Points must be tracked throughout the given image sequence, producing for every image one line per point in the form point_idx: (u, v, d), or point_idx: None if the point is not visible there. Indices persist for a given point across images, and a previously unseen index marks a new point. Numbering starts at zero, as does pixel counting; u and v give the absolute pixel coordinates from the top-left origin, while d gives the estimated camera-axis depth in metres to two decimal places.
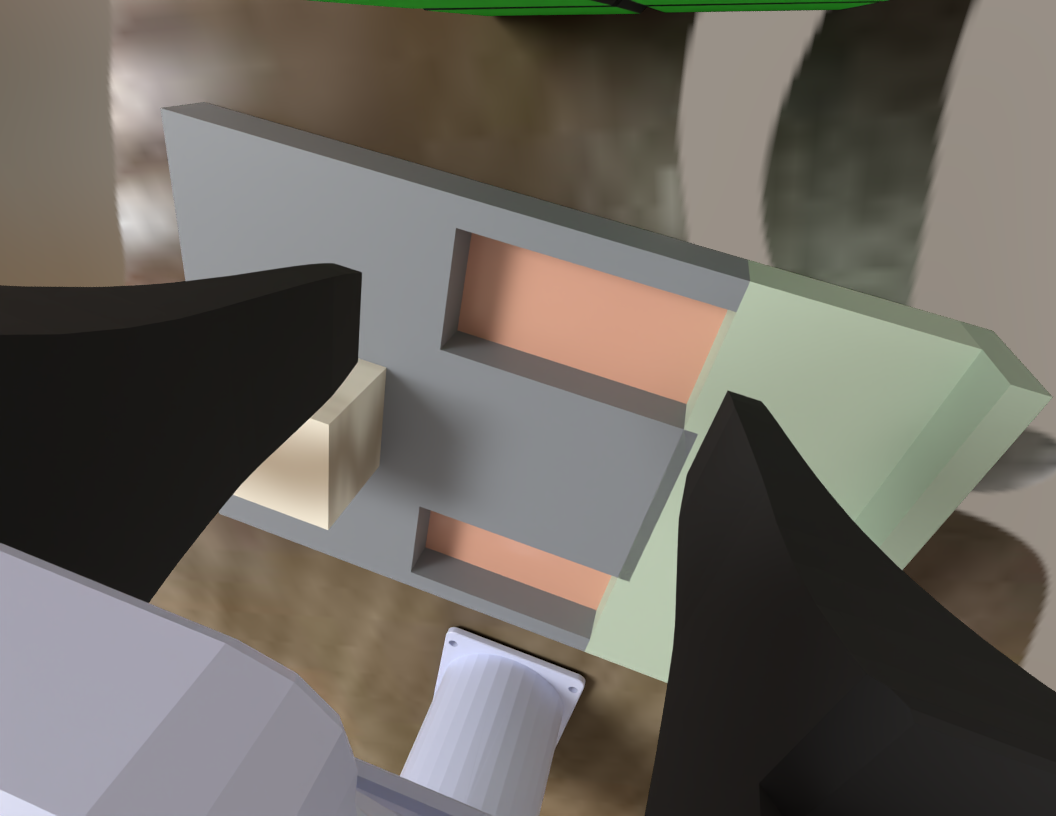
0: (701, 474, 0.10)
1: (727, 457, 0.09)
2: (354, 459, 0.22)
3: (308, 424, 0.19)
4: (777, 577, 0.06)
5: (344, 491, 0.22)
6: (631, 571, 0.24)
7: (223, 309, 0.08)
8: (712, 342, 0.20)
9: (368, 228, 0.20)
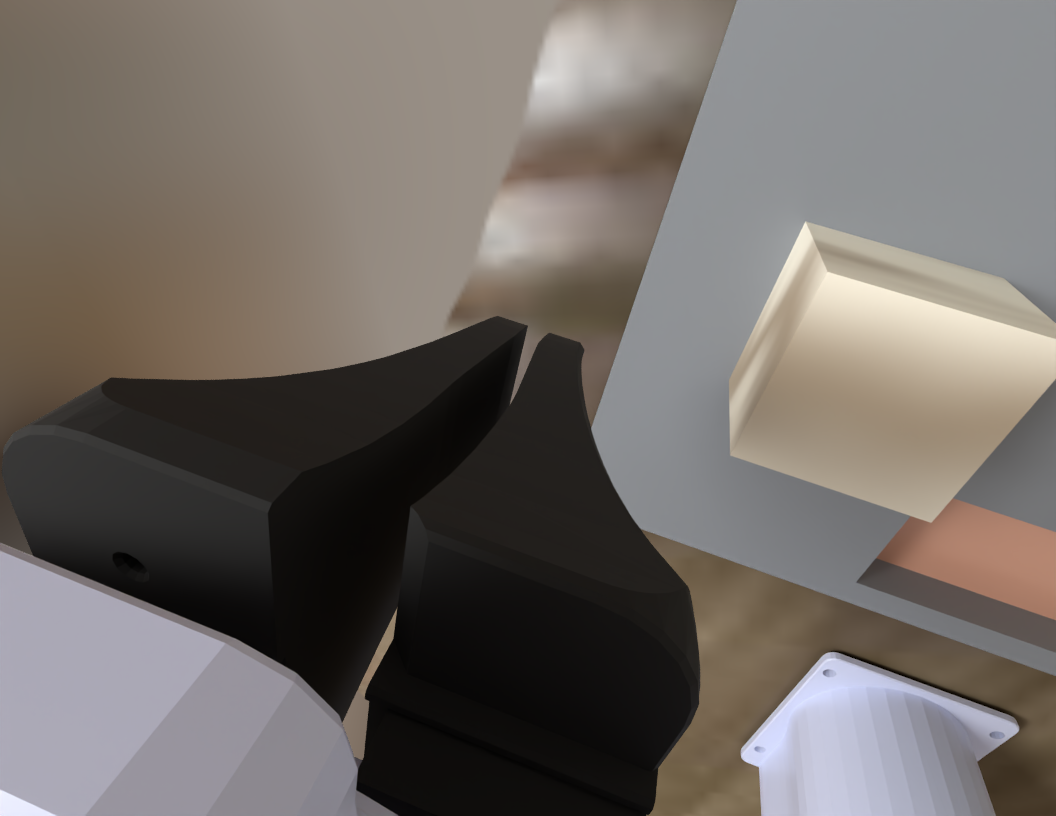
0: None
1: None
2: None
3: (1034, 348, 0.12)
4: None
5: None
6: None
7: None
8: None
9: None
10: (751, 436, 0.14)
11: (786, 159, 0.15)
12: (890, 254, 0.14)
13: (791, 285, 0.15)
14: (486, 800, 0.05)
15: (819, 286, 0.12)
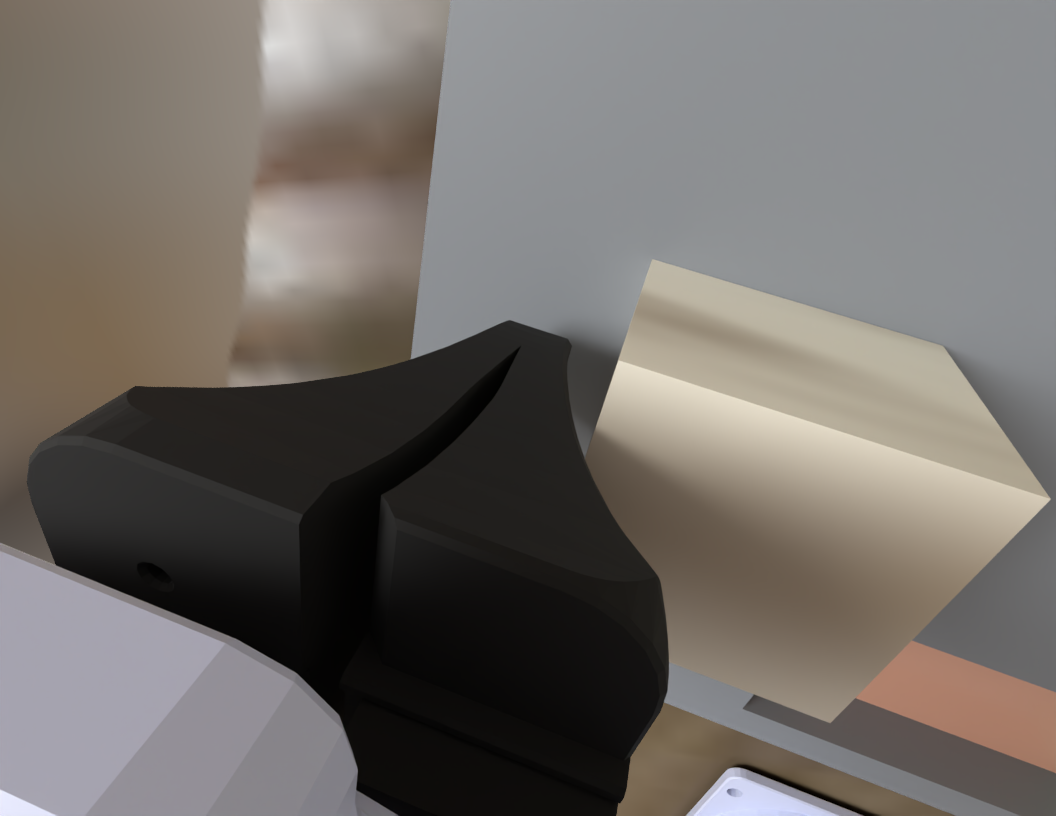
0: None
1: None
2: None
3: (967, 497, 0.07)
4: None
5: None
6: None
7: (465, 391, 0.08)
8: None
9: None
10: None
11: (571, 156, 0.10)
12: (766, 312, 0.09)
13: None
14: (458, 788, 0.05)
15: (611, 380, 0.07)
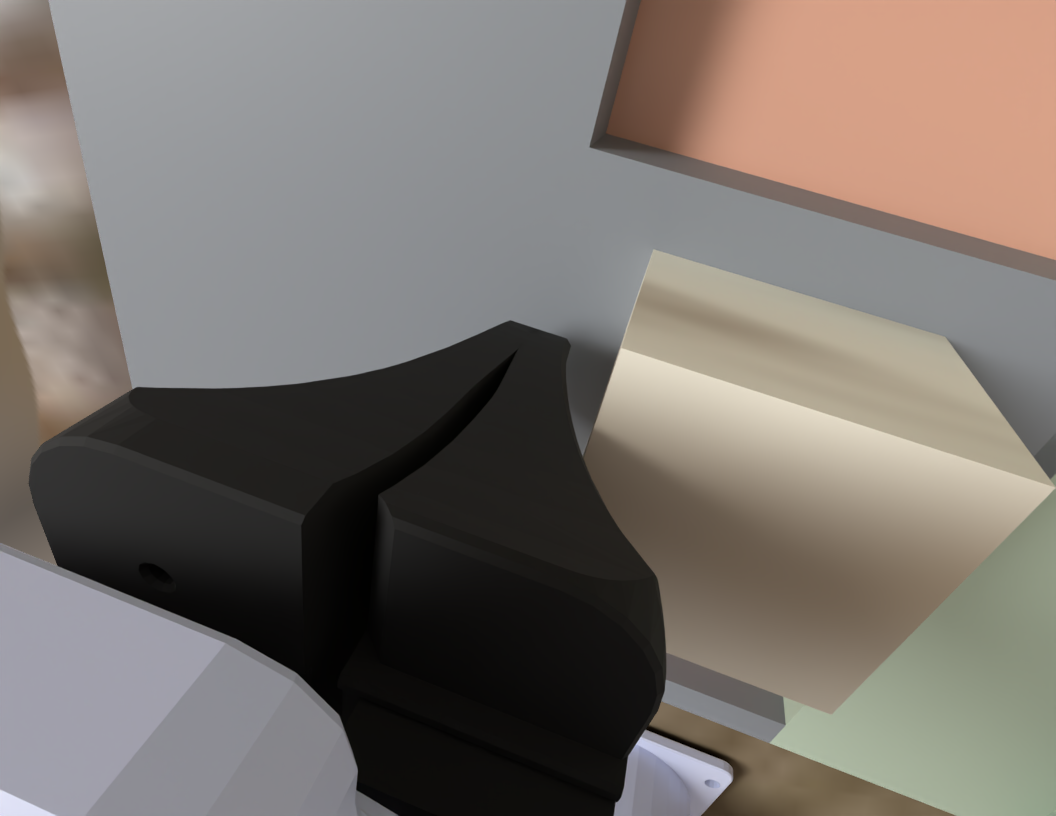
0: None
1: None
2: None
3: (971, 485, 0.07)
4: None
5: None
6: None
7: (466, 392, 0.08)
8: None
9: None
10: None
11: (162, 40, 0.11)
12: (768, 302, 0.09)
13: None
14: (455, 787, 0.05)
15: (613, 368, 0.07)
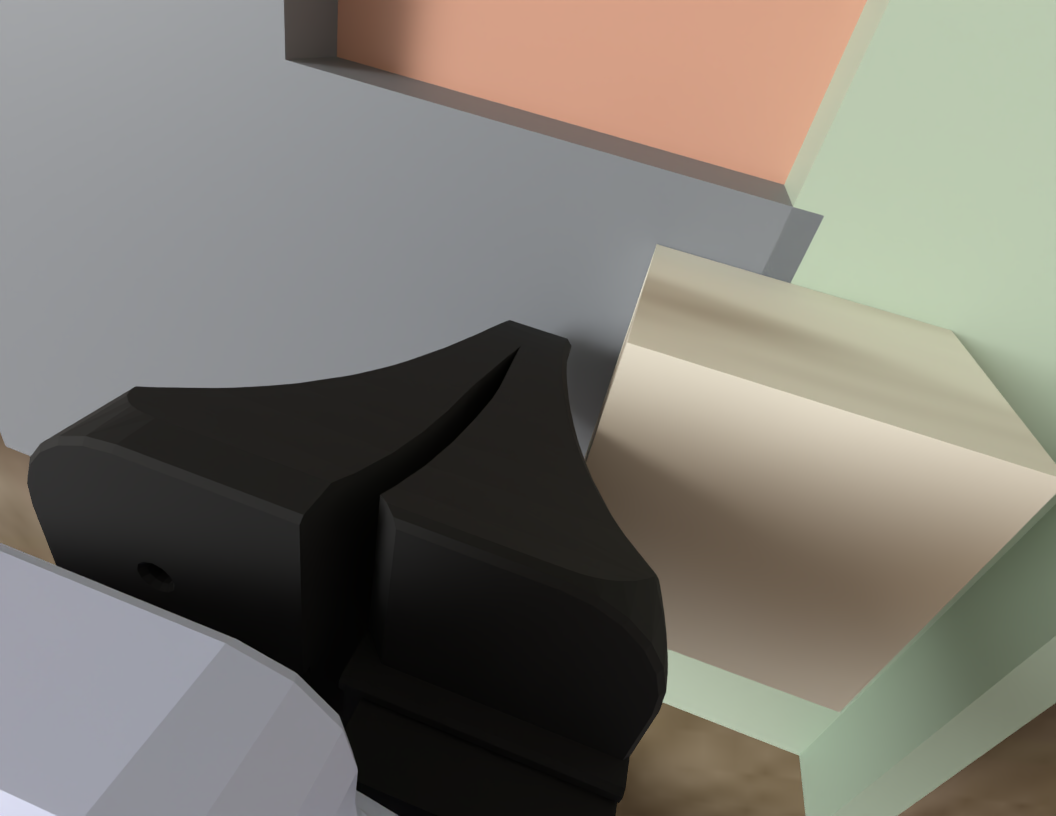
0: None
1: None
2: None
3: (983, 478, 0.07)
4: None
5: None
6: None
7: (465, 391, 0.08)
8: (857, 16, 0.09)
9: None
10: None
11: None
12: (773, 297, 0.09)
13: (624, 344, 0.10)
14: (457, 788, 0.05)
15: (619, 364, 0.07)
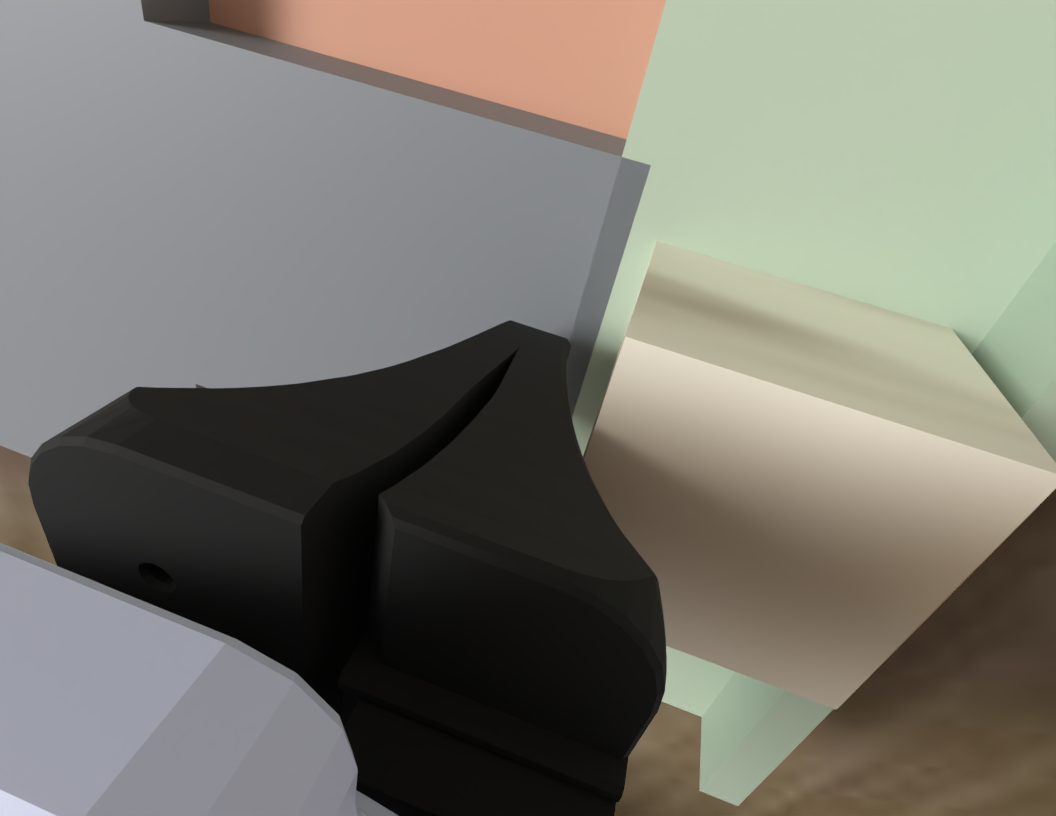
0: None
1: None
2: None
3: (981, 475, 0.07)
4: None
5: None
6: None
7: (466, 391, 0.08)
8: None
9: None
10: None
11: None
12: (773, 293, 0.09)
13: (623, 340, 0.10)
14: (455, 787, 0.05)
15: (617, 359, 0.07)
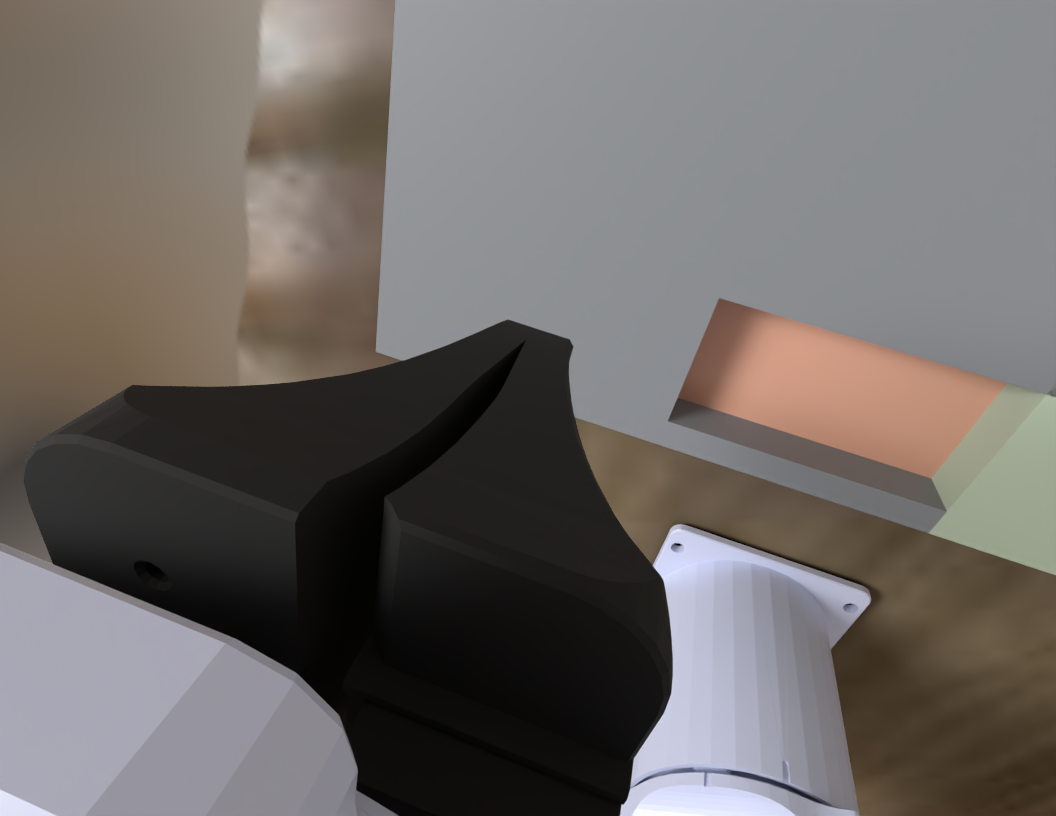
0: None
1: None
2: None
3: None
4: None
5: None
6: None
7: (463, 391, 0.08)
8: None
9: None
10: None
11: None
12: None
13: None
14: (460, 789, 0.05)
15: None
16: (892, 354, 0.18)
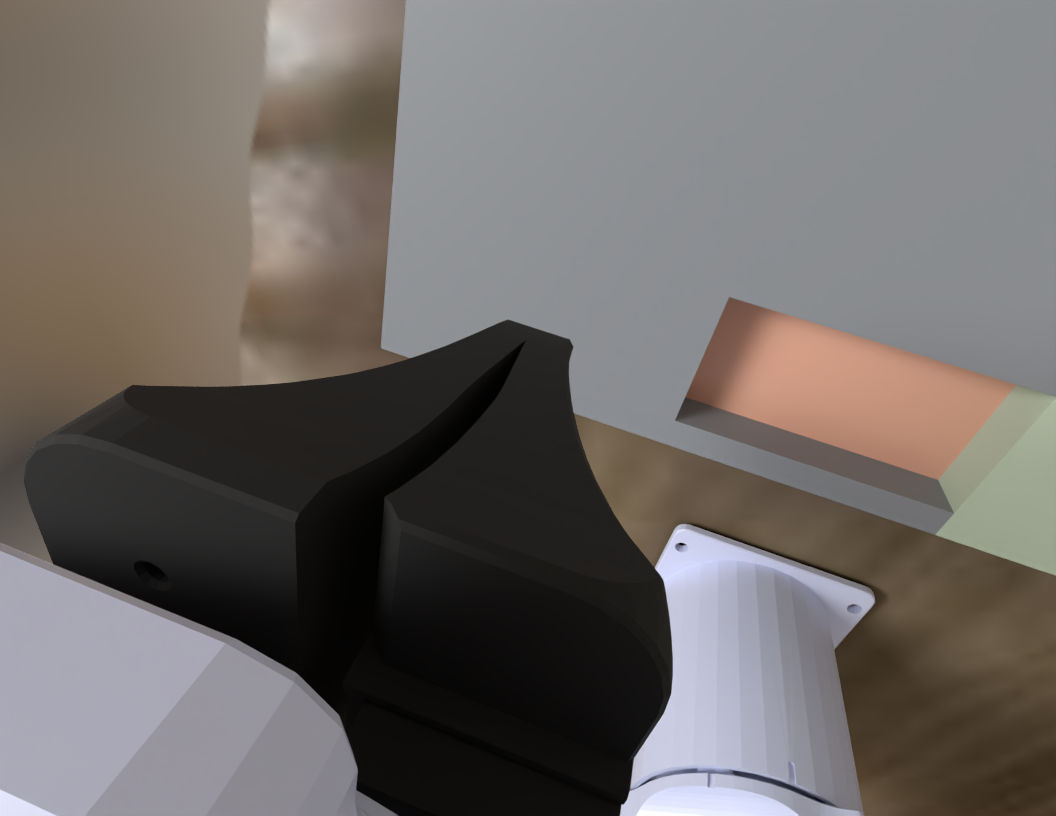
0: None
1: None
2: None
3: None
4: None
5: None
6: None
7: (463, 390, 0.08)
8: None
9: None
10: None
11: None
12: None
13: None
14: (462, 789, 0.05)
15: None
16: (901, 355, 0.18)
